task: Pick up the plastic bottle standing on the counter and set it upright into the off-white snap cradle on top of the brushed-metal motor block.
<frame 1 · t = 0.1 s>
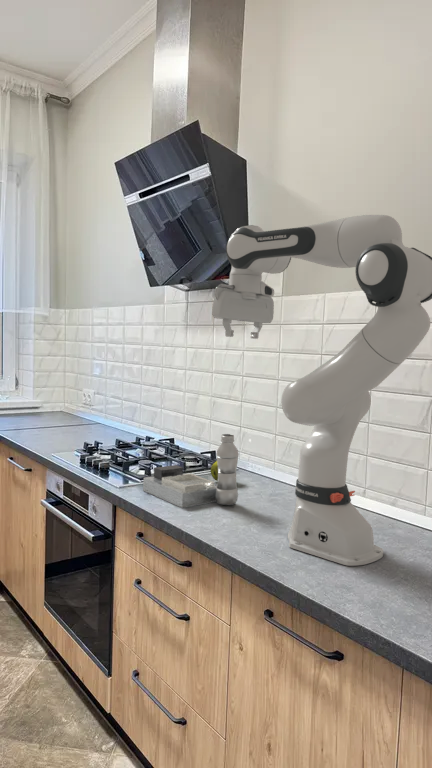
hand: (242, 337, 148), 48 cm above the worktop, fingers open, 8 cm apart
plastic bottle: (226, 505, 153), on the worktop
apple: (223, 482, 178), on the worktop
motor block: (181, 495, 159), on the worktop
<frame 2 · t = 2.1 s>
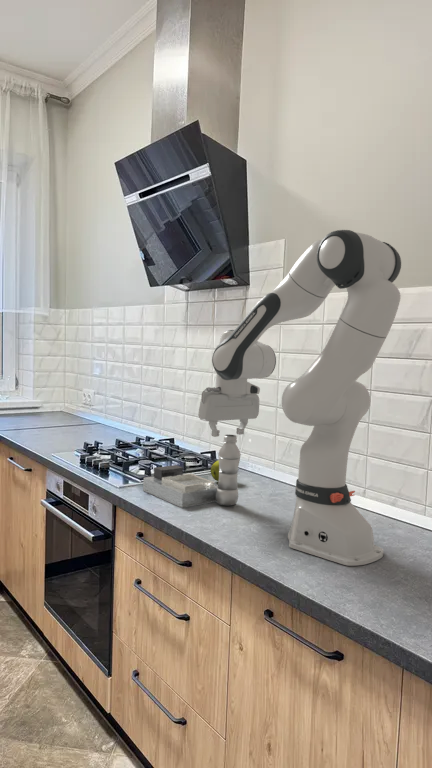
hand: (227, 435, 152), 20 cm above the worktop, fingers open, 8 cm apart
nothing on the worktop moved.
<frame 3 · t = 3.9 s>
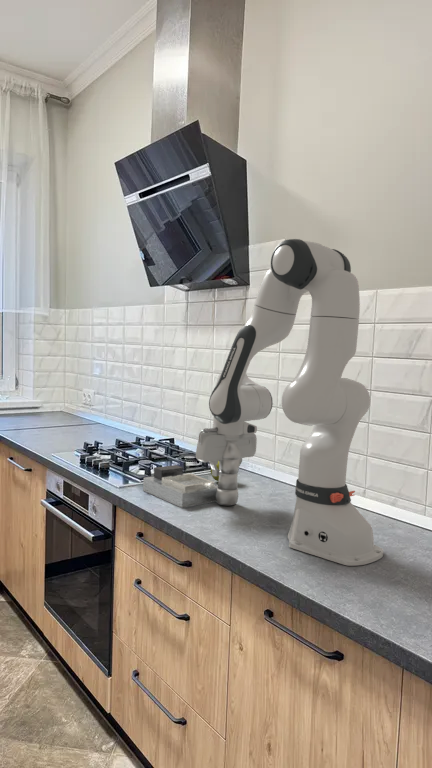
hand: (225, 474, 153), 8 cm above the worktop, fingers open, 6 cm apart
plastic bottle: (226, 505, 153), on the worktop, touching arm, gripper
everything else where it was.
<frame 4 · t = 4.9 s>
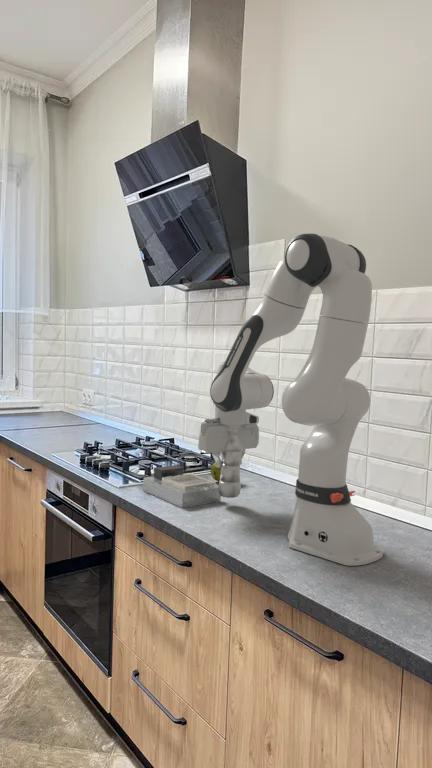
hand: (228, 465, 152), 11 cm above the worktop, fingers closed on plastic bottle, 6 cm apart
plastic bottle: (228, 497, 152), point 2 cm above the worktop, touching gripper
everything else where it was.
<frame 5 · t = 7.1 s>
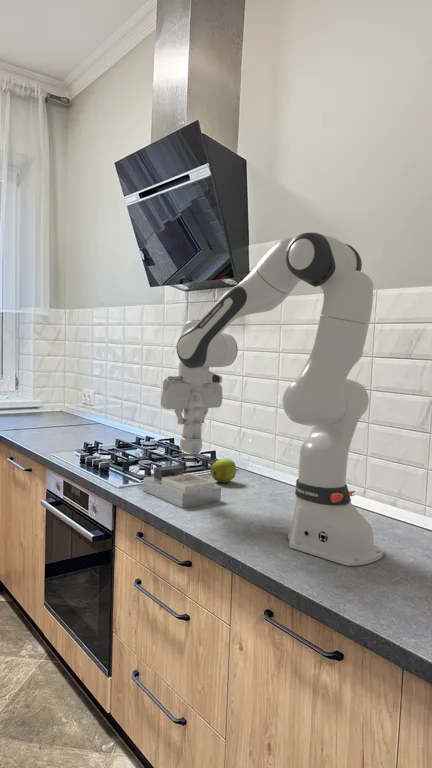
hand: (191, 423, 156), 22 cm above the worktop, fingers closed on plastic bottle, 6 cm apart
plastic bottle: (190, 454, 156), point 13 cm above the worktop, touching gripper
everything else where it was.
when the fingers open (13 cm above the worktop, at t = 9.4 s): plastic bottle stays where it is, resting on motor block.
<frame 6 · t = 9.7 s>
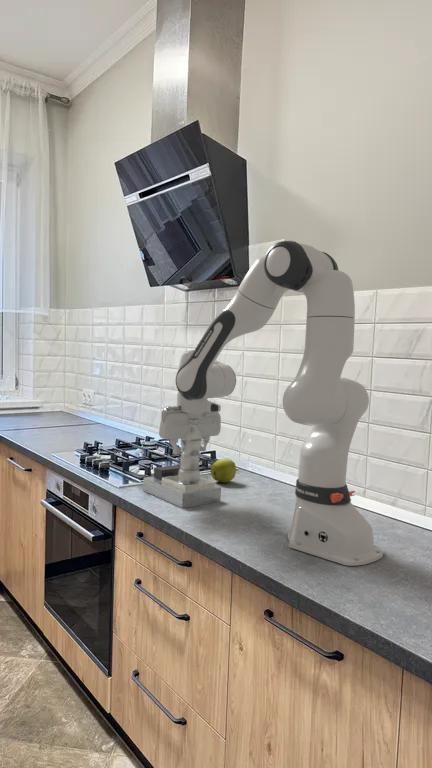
hand: (189, 452, 156), 14 cm above the worktop, fingers open, 8 cm apart
plastic bottle: (188, 486, 156), point 4 cm above the worktop, touching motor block
everything else where it was.
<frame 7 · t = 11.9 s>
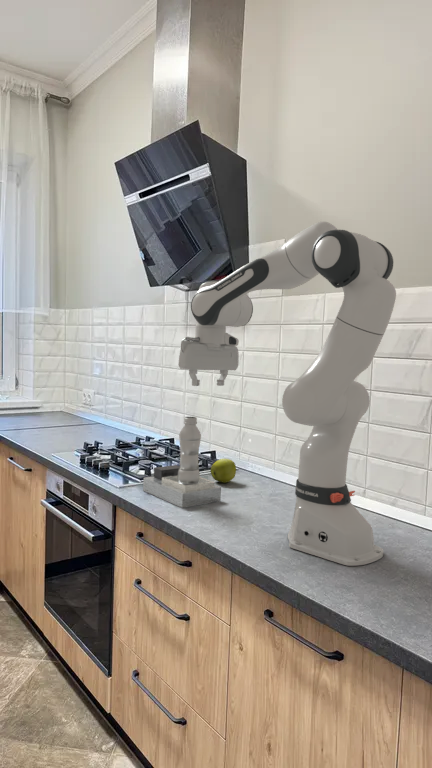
hand: (208, 385, 156), 33 cm above the worktop, fingers open, 8 cm apart
nothing on the worktop moved.
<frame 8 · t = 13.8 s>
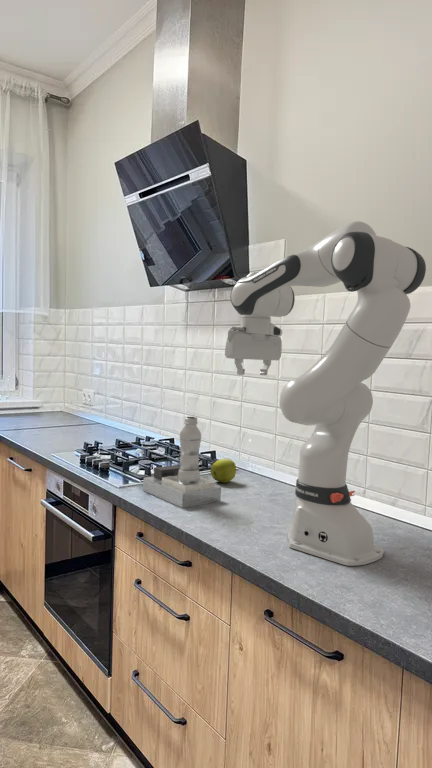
hand: (252, 375, 159), 37 cm above the worktop, fingers open, 8 cm apart
nothing on the worktop moved.
at the end: plastic bottle inside the target area on the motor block (0.9 cm from its centre), point 3.9 cm above the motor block's base; plastic bottle tilted 1°; the gripper is holding nothing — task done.
